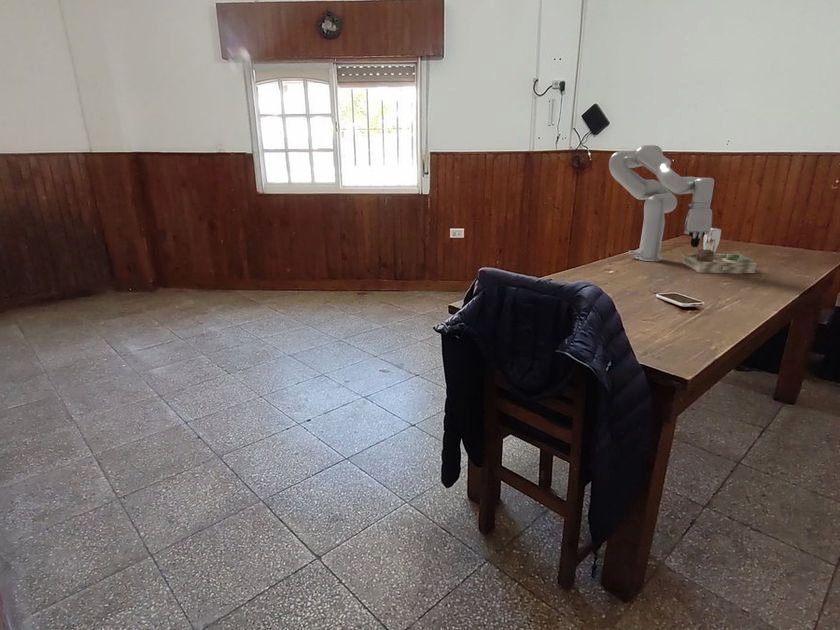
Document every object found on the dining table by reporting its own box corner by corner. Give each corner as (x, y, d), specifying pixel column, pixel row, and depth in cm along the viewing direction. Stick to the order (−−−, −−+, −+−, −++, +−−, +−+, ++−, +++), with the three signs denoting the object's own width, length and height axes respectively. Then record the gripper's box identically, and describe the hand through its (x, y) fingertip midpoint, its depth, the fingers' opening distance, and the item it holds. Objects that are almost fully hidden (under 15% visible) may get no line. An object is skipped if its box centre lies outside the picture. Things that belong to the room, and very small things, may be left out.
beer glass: (718, 260, 248) (724, 230, 243) (704, 260, 248) (710, 230, 243) (711, 257, 255) (717, 227, 250) (697, 257, 255) (702, 227, 250)
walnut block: (701, 262, 231) (703, 251, 230) (696, 259, 236) (698, 249, 234) (712, 262, 231) (714, 251, 229) (707, 260, 236) (709, 249, 234)
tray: (698, 272, 226) (700, 260, 224) (681, 262, 244) (683, 251, 242) (754, 273, 224) (757, 261, 222) (733, 263, 242) (736, 252, 240)
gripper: (686, 207, 223) (680, 248, 228) (722, 207, 221) (715, 248, 227) (680, 205, 230) (674, 245, 235) (714, 205, 228) (707, 245, 234)
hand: (694, 246), depth 231 cm, fingers closed
